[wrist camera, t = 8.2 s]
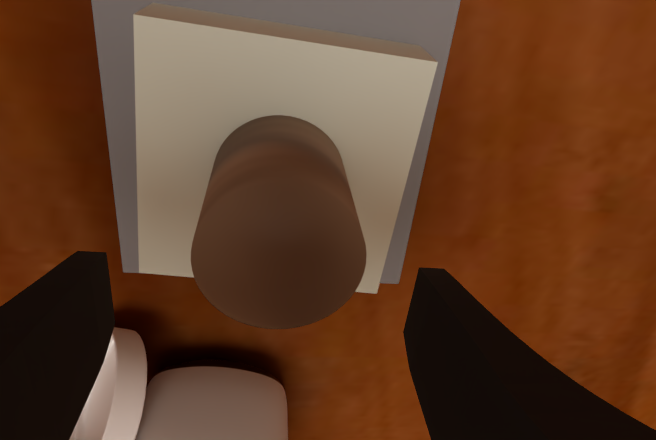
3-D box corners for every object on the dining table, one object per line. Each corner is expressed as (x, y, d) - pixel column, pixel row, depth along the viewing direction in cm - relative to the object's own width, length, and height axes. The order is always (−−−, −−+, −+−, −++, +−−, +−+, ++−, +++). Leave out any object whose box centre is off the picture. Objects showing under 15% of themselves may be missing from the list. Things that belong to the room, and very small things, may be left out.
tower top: (154, 236, 21) (138, 272, 19) (153, 2, 17) (133, 14, 14) (367, 257, 22) (376, 293, 20) (419, 45, 18) (437, 62, 16)
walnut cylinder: (215, 233, 18) (195, 329, 14) (210, 111, 16) (185, 180, 12) (338, 235, 18) (357, 329, 14) (350, 118, 16) (376, 186, 12)
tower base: (137, 240, 24) (123, 272, 22) (110, -48, 18) (86, -44, 16) (389, 252, 25) (398, 283, 23) (441, -12, 19) (461, -3, 17)
